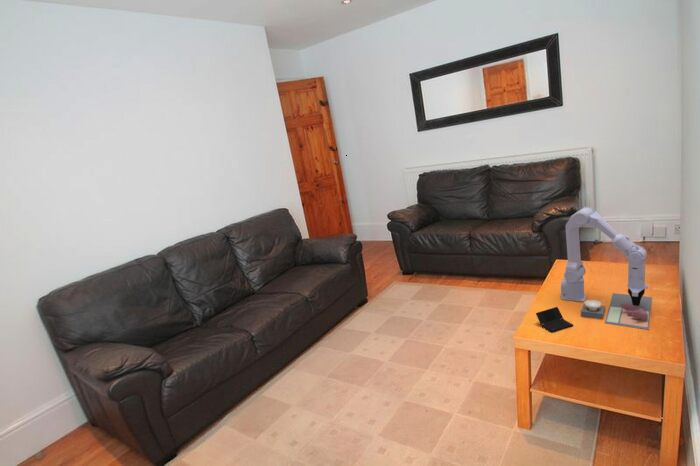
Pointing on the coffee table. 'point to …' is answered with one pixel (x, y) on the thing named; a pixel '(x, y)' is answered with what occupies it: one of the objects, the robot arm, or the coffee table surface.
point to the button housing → (593, 312)
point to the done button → (593, 304)
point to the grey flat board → (620, 315)
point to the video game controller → (635, 311)
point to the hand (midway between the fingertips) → (636, 304)
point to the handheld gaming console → (553, 320)
